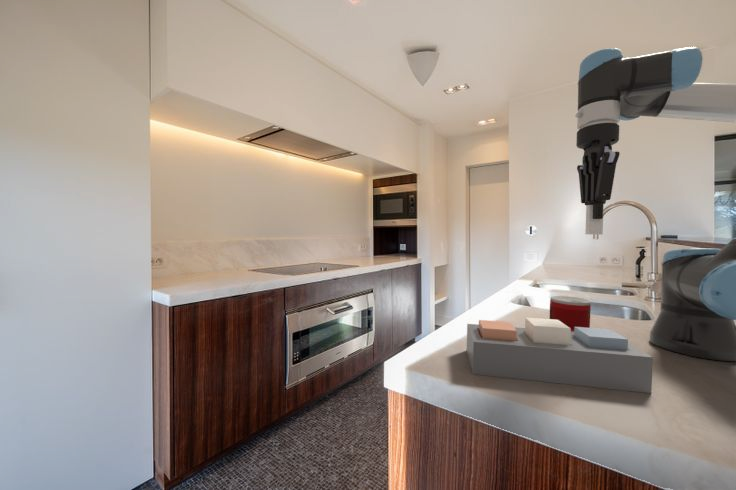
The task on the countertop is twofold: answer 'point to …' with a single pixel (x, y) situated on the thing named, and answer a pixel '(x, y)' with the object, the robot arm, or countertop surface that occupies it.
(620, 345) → the slate key
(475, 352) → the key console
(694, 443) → the countertop surface
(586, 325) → the canned food
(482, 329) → the terracotta key
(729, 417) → the countertop surface
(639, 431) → the countertop surface
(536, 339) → the ivory key
